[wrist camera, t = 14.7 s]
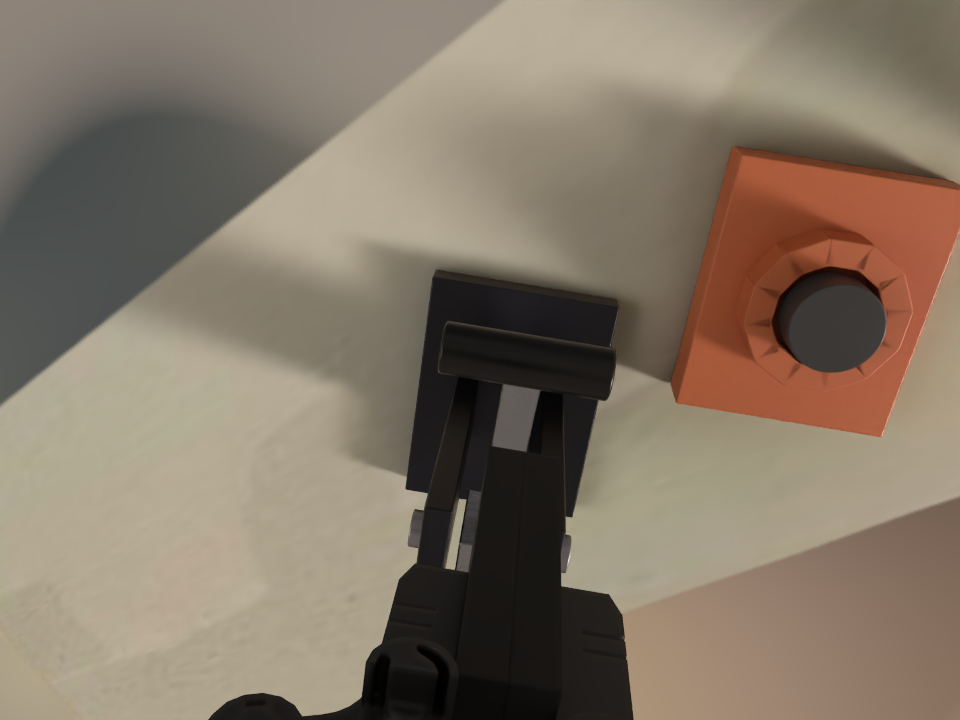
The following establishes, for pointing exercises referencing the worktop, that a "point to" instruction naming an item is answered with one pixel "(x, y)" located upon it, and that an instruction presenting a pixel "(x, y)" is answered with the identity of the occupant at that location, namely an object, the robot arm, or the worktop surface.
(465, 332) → the lever
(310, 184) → the worktop surface
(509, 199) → the worktop surface
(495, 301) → the bracket
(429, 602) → the robot arm
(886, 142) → the worktop surface
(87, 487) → the worktop surface
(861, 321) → the button
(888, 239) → the button block
